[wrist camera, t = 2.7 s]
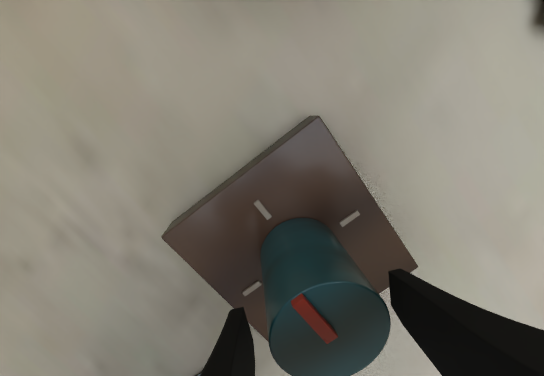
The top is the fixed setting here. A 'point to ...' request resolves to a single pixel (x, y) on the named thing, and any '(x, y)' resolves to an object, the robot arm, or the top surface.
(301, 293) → the jar
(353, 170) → the stand
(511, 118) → the top surface
